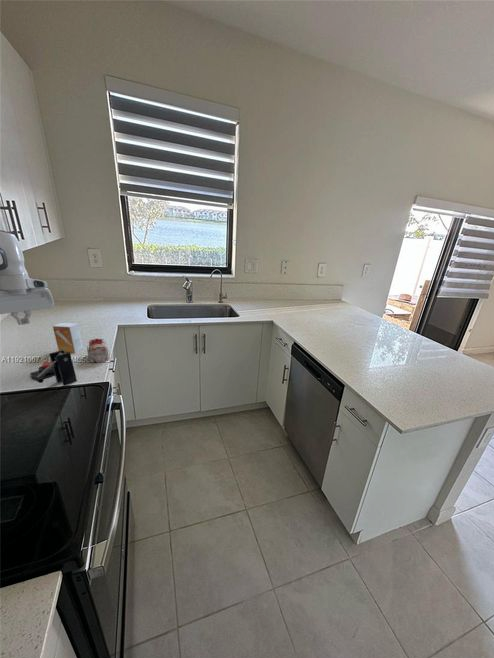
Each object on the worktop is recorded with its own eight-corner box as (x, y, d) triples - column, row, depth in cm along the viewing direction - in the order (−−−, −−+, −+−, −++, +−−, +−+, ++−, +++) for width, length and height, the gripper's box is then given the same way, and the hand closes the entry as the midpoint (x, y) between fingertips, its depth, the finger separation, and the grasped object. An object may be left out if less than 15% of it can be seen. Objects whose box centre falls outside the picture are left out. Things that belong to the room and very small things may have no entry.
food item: (111, 363, 128) (107, 342, 124) (90, 367, 124) (85, 345, 120) (108, 353, 138) (104, 334, 134) (88, 356, 134) (84, 336, 130)
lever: (42, 384, 98) (36, 380, 96) (34, 381, 100) (28, 376, 98) (70, 358, 104) (65, 354, 103) (62, 355, 107) (57, 351, 105)
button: (46, 370, 111) (45, 366, 110) (41, 368, 112) (40, 364, 112) (56, 367, 114) (55, 363, 113) (51, 365, 115) (50, 361, 115)
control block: (42, 383, 109) (40, 373, 107) (31, 378, 112) (28, 368, 111) (70, 373, 117) (68, 364, 115) (59, 369, 120) (57, 360, 119)
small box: (58, 352, 137) (51, 325, 133) (67, 348, 143) (61, 322, 138) (75, 353, 137) (69, 326, 132) (83, 348, 143) (78, 323, 138)
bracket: (57, 394, 101) (48, 361, 96) (43, 388, 105) (33, 355, 100) (90, 381, 111) (84, 350, 106) (77, 376, 115) (69, 346, 110)
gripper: (-24, 286, 86) (-10, 331, 91) (51, 281, 103) (60, 320, 108) (-33, 284, 88) (-19, 328, 93) (42, 280, 105) (50, 317, 110)
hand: (24, 323), depth 101 cm, fingers closed
